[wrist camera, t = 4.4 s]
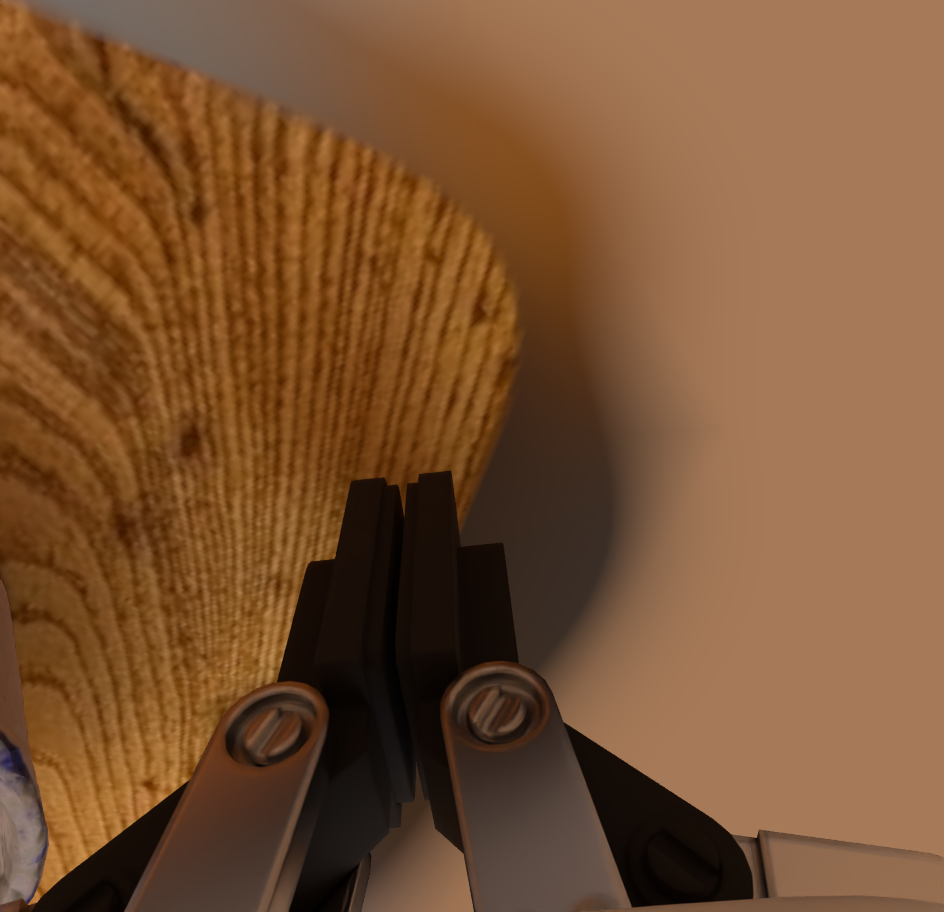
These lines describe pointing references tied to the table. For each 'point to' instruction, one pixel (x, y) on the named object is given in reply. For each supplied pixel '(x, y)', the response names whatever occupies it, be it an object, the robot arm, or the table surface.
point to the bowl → (17, 780)
